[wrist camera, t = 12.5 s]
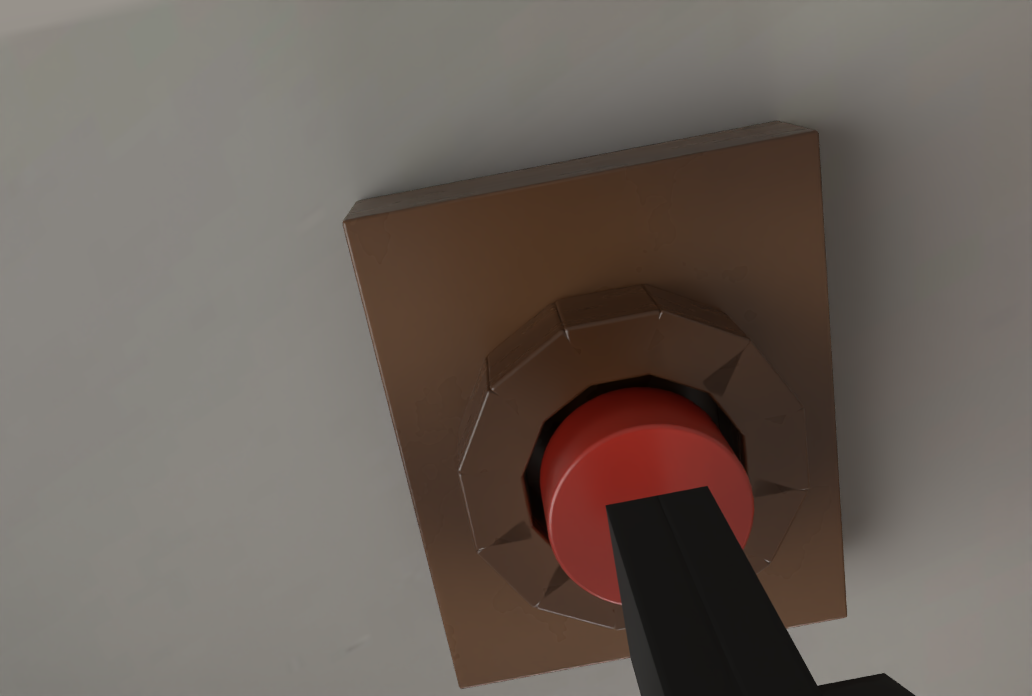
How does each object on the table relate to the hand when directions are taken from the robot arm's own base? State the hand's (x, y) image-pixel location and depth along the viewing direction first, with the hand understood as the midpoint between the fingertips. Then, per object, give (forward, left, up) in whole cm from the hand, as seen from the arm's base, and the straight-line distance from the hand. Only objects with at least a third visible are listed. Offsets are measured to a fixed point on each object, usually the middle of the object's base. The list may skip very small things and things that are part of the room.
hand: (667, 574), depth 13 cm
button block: (0, 0, -7) cm, 7 cm away
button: (0, 0, -4) cm, 4 cm away
